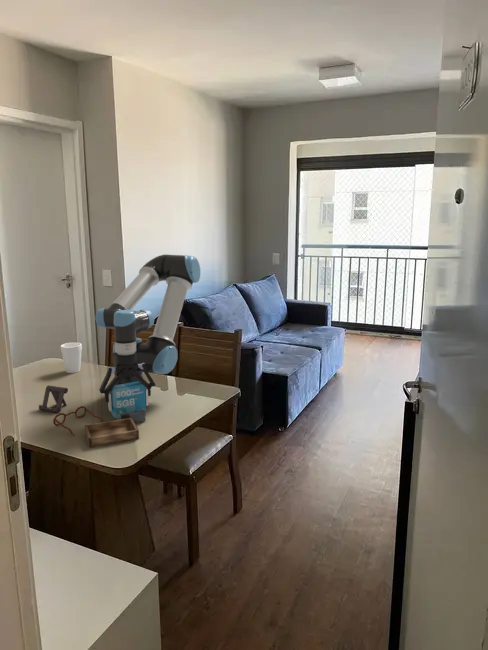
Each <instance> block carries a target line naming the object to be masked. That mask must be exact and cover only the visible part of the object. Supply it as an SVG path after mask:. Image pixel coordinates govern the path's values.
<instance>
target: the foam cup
mask: <svg viewBox="0 0 488 650" xmlns="http://www.w3.org/2000/svg"><path fill="white" fill-rule="evenodd" d="M82 350H83V345H82V343H81V342H66V343H63V344H61V345H60V352H61V355H62V358H63V363H64V368H65V373H68V374H75V373H79V372H80V371H81V365H82V364H81V363H82V362H81V361H82Z"/></svg>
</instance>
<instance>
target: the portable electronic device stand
mask: <svg viewBox="0 0 488 650" xmlns="http://www.w3.org/2000/svg"><path fill="white" fill-rule="evenodd" d="M50 392H51V395H52V397H53V399H54V401H55V403H56V407H53V406H50V407H47V405H48V403H49V397H50ZM68 392H69V389H68V388H67V387H62V386H54V385H47V386H46V387H45V392H44V396H43V401H42V404H39V405H38V410H40V411H43V412H44V411H45V412H49V413H50V412H51V413H56V414H60V413H61V410H62V406H63V407H64V406H66V407H67V402H66V400H65V398H64V396H65V394H67V393H68Z"/></svg>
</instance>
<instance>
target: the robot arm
mask: <svg viewBox="0 0 488 650" xmlns="http://www.w3.org/2000/svg"><path fill="white" fill-rule="evenodd" d="M200 266H201V265H200V262H199V260H198V258H197V257H196V256H193V255H187V254H185V255H182V254H181V255H180V254H162V255H158V256H155V257H153V258H151V259H150V260H149V261H147V262H146V263H145V264H144V265H143V266H142V267H141V268H140V269H139V270H138V271H139V272H138V275H136V277H135V278H134V279H133V280H132V281H131V282H130V284H129V285H128V286H127V287H125V289H124V290H123V291H122V292H121V293H120V294H119V295H118V297H117V298H116V299H115V300H114V301H113V302H112V303H111V304H110V305H109V306H108V308H106V307H104V308H99V309H98V310H97V311H96V313H95V322H96V325H97V326H98V327H99V328H105V329H114V343H113V345H112V346H113V347H112V355H113V366H107V367H106V374H105V376H104V379H103V381H102V382H101V385H100V387H99V389H98V391H99V393H100V394H104V400H105V401H104V402H106V403H107V404H108V405H107V407H108V411H109V412H111V411H112V405H111V393H110V391H111V390H112V388H113V387H114V386H115V385H120V384H126V383H131V382H137V381H138V382H140V383H141V384H143V385H144V386H145V401H146V407H147V406H149V397H151V395H152V393H151V392H152V390H151V389H152V387H155V386H156V383H155V380H153V378H152V376H151V375H150V373H151V374H156V375H160V374H161V375H167V374H169V373H171V372H172V371H173V369H174V368H175V367H176V364H177V362H178V357H179V356H178V355H179V354H178V348H176V343H175V342H174V338H175V334H176V331H177V327H178V324H179V320H180V316H181V312H182V310H183V307H184V302H185V300H186V296H187V292H188V291H189V290H191V289H192V286H193V284H195V283H198V282H199V281H200V279H201V267H200ZM163 281H164V282H165V283H166V284H167V286H166V290H165V294H164V296H163V300H162V304H161V307H160V309H159V312H158V313H159V314H158V317H157V320H156V323H155V316H154V314H153V313H152V311H150V310H148V309H140V310H134V308H135V307H136V306H137V304H139V302H140V301H141V300H142V299H143V298H144V296H145V295H146V294H147V293H148V292H149V290H150V289H151V288H152V287H154V286H157V285H158V284H159V282H163ZM154 323H155V326H154V329H153V333H152V334H151V335H150V336H148V338H147V340H146V343H145V342H144V343H143V341H142V338H140V337H137V334H138V333H140V332H143V331H146V330H148V329H150V328H152V327H153V325H154ZM113 373H114V377H113V378H112V380H111V381H110V379H111V376H112V374H113ZM143 373H144V374H143ZM144 375H145V376H146V378H147V381H148V382H149V383H148V382H147V381H146V380H145V376H144ZM109 381H110V382H109Z"/></svg>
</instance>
